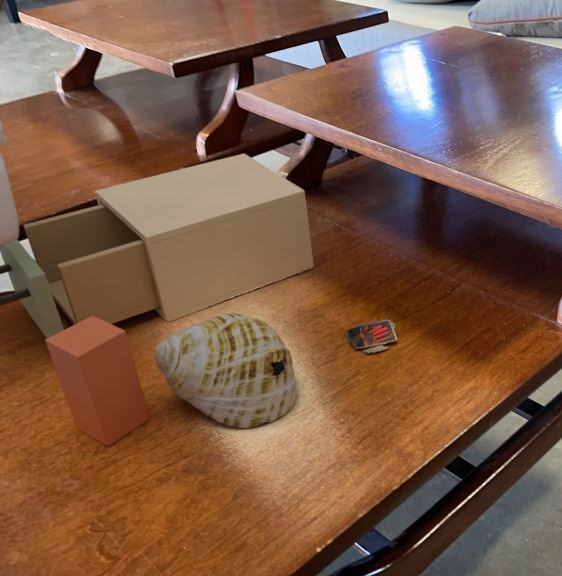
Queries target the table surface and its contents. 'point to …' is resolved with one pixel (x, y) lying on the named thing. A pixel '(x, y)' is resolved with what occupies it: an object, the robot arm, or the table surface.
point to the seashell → (230, 370)
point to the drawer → (80, 270)
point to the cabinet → (214, 230)
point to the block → (99, 379)
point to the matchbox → (372, 335)
